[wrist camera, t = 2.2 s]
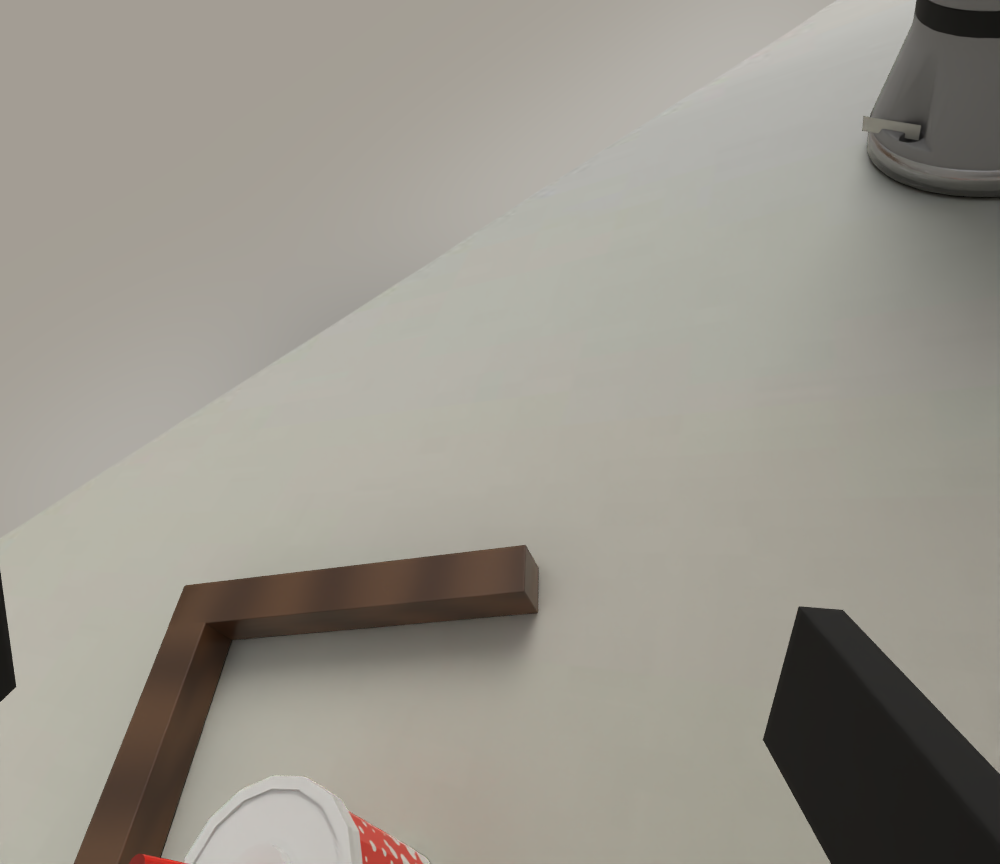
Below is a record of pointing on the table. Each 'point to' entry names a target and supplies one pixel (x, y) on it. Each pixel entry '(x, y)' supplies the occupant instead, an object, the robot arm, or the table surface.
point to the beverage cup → (290, 830)
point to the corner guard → (263, 613)
